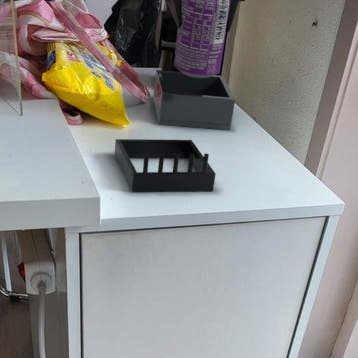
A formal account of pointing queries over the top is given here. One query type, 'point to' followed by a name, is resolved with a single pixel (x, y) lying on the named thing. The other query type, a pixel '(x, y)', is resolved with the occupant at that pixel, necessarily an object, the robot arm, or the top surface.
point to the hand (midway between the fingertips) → (203, 28)
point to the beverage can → (201, 37)
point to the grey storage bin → (193, 100)
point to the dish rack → (160, 179)
